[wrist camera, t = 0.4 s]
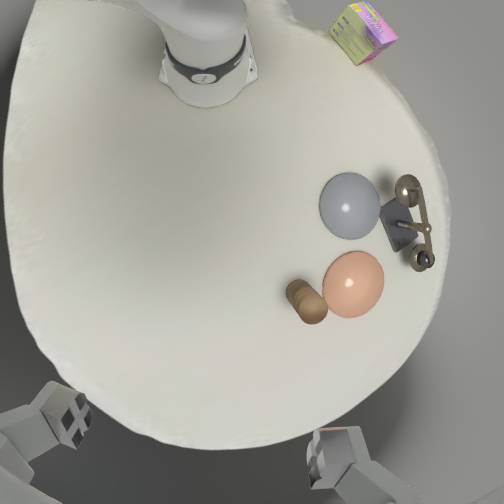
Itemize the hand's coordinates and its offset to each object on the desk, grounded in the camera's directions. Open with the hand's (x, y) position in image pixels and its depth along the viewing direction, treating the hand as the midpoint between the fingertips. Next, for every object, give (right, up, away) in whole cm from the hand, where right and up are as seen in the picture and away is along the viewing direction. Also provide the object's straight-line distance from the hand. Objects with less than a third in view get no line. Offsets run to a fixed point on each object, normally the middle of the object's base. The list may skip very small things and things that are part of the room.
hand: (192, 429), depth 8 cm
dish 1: (+21, +15, +46) cm, 52 cm away
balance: (+33, +12, +48) cm, 59 cm away
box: (+24, +51, +40) cm, 69 cm away
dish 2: (+23, -1, +49) cm, 54 cm away
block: (+11, -2, +48) cm, 49 cm away
